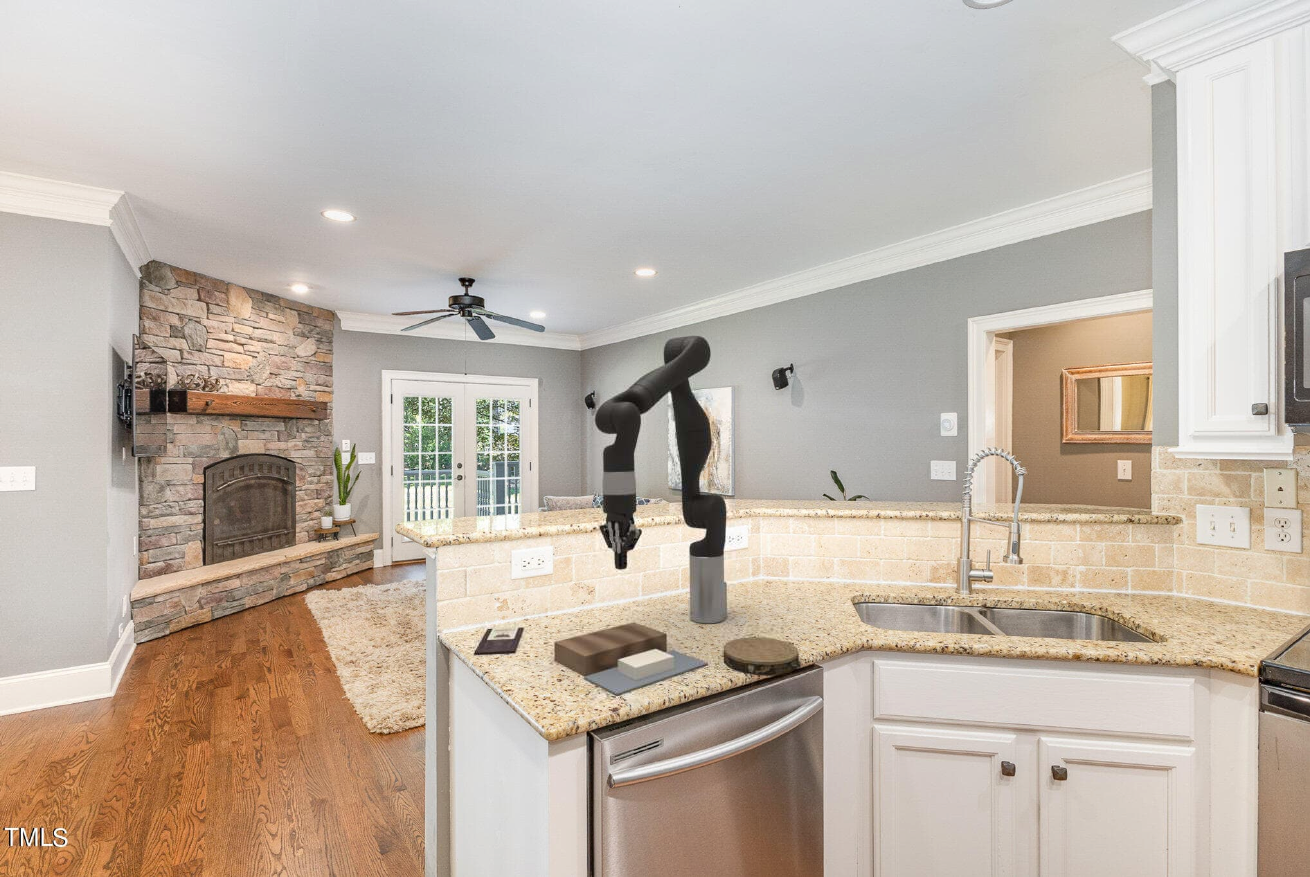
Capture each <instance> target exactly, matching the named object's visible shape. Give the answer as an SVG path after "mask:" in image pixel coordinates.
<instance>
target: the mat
mask: <svg viewBox="0 0 1310 877" xmlns="http://www.w3.org/2000/svg"><path fill="white" fill-rule="evenodd" d="M665 653H667V654H670V655H672V656H674V669H671V670H668V671H664V672H661V673H658V674H655V675H652V676H649V677H646V678H642V679H639V680H634V679H632V678H630V677H627V676H625V675H623V674H621V673H619V672H618V666H617V667H614V668H611V669H607V670H604V671H601V672H597V673H594V674H591V675H587V676H583V679H584V680H585V681H587V682H589V683H591V684H593V685H595V686H597V687H599V688H601V689H603V690H605V691H607V692H608V693H610V694H612V693H613V694H612V695H614V696H616V697H618V696H620V695H623V694H622V693H624V694H626V692H627V693H630V692H632V690H633V691H635V689H636V690H638V688H639V689H641V687H642V688H644V687H647V686H650V685H653V684H656V683H658V681H659V682H662V681H665V680H668V679H670V677H671V678H673V677H677V676H680V675H682V674H686V673H688V672H691V671H695V670H697V669H700V668H703V667H706V666H708V665H709V662H706V661H703V660H701V659H698V658H696V657H693V656H691V655H688V654H685V653H682V652H679V651H677V650H674V649H671V650H667V652H665ZM676 675H677V676H676ZM664 679H665V680H664ZM655 682H656V683H655ZM652 683H653V684H652ZM649 684H650V685H649ZM643 686H644V687H643ZM629 691H630V692H629Z"/></svg>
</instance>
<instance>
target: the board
mask: <svg viewBox="0 0 1310 877" xmlns="http://www.w3.org/2000/svg"><path fill="white" fill-rule="evenodd" d="M667 640H668V636H667V633H665V632H662V631H659V630H657V629H655V628H652V627H649V626H646V625H642V624H640V623H637V622H630V623H629V622H628V623H626V624H620V625H617V626H613V627H609V628H606V629H602V630H596V631H592V632H590V633H585V634H581V635H577V636H573V637H568V638H565V639H561V640H557V641H554V642H553V645H554V647H553V648H554V651H553V652H554V654H553V656H554V657H553V658H554V659H553V660H554V661H555V662H557V663H559V664H561V665H563V666H565V667H567V668H569V669H570V670H573V671H574V672H576V673H578V674H581V675H583V677H585V676H588V675H592V674H595V673H598V672H602V671H605V670H608V669H612V668H615V667H618V659H622V658H625V657H629V656H632V655H636V654H639V653H643V652H647V651H650V650H654V649H657V650H660V651H662V652H668V641H667Z"/></svg>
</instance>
